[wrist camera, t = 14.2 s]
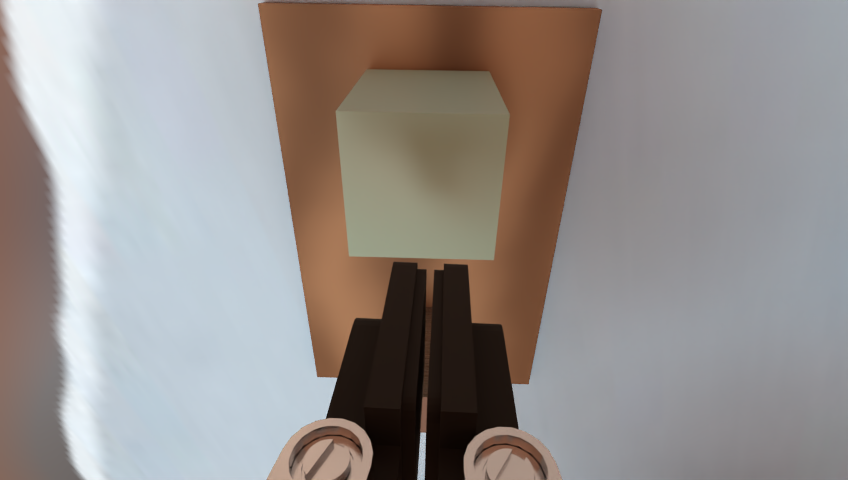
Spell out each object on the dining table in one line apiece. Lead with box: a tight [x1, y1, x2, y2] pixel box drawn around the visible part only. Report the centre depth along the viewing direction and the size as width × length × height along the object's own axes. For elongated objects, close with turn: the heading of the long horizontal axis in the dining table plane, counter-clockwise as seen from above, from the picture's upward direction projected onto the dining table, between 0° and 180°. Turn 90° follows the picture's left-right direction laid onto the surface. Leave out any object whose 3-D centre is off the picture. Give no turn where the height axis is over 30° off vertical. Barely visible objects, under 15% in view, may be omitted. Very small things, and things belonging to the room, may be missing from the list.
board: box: [258, 2, 602, 384], centre depth 24 cm, size 14×22×1 cm, turn 179°
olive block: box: [336, 69, 510, 260], centre depth 17 cm, size 5×5×7 cm
